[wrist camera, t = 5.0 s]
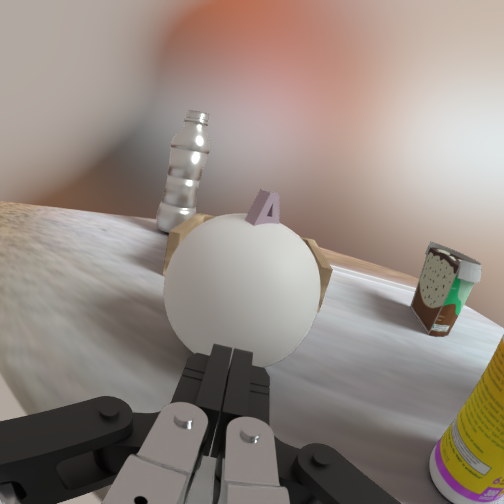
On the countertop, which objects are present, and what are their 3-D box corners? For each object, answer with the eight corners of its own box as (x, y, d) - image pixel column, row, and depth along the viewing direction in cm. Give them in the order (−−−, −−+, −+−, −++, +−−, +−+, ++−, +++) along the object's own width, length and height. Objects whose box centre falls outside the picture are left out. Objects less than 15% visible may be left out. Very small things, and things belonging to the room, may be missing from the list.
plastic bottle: (186, 229, 56) (210, 118, 51) (197, 241, 50) (224, 116, 45) (151, 225, 53) (174, 110, 48) (157, 237, 47) (183, 106, 42)
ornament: (268, 423, 16) (337, 217, 13) (128, 352, 20) (150, 169, 17) (308, 348, 26) (352, 209, 23) (202, 307, 29) (229, 176, 26)
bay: (305, 271, 48) (314, 240, 46) (318, 312, 34) (332, 269, 33) (192, 245, 47) (198, 212, 46) (162, 275, 34) (169, 231, 32)
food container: (469, 349, 31) (501, 274, 29) (431, 340, 32) (463, 260, 29) (439, 311, 43) (461, 251, 40) (407, 303, 44) (429, 240, 41)
